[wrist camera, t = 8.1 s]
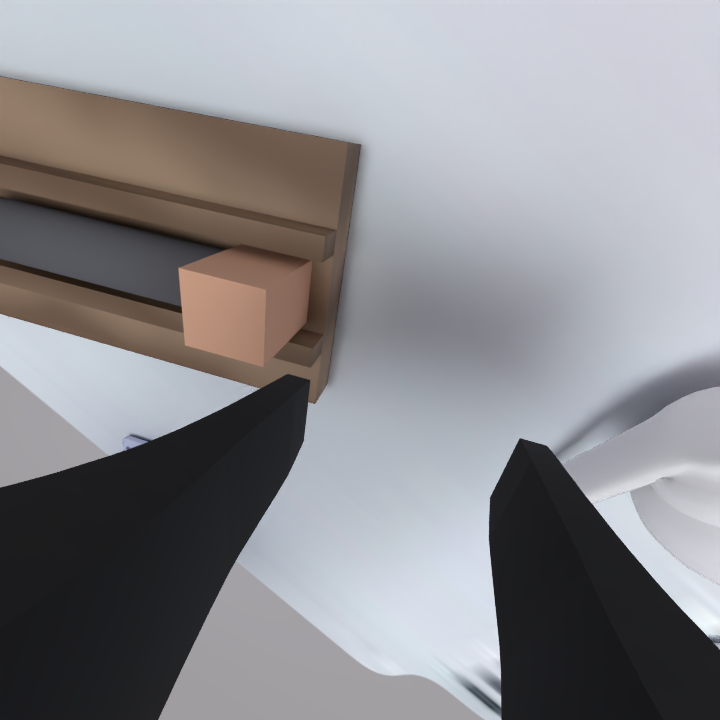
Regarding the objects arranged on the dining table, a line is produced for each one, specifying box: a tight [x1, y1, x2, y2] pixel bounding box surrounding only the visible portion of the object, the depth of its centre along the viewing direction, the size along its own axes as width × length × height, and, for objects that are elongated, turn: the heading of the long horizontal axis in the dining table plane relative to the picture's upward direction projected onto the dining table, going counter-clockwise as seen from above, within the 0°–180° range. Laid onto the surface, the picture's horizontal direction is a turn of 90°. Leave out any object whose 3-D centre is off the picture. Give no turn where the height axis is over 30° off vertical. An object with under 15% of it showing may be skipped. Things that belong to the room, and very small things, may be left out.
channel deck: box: [0, 77, 361, 404], centre depth 18 cm, size 12×24×4 cm, turn 81°
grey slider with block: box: [0, 196, 312, 367], centre depth 16 cm, size 3×16×4 cm, turn 81°
